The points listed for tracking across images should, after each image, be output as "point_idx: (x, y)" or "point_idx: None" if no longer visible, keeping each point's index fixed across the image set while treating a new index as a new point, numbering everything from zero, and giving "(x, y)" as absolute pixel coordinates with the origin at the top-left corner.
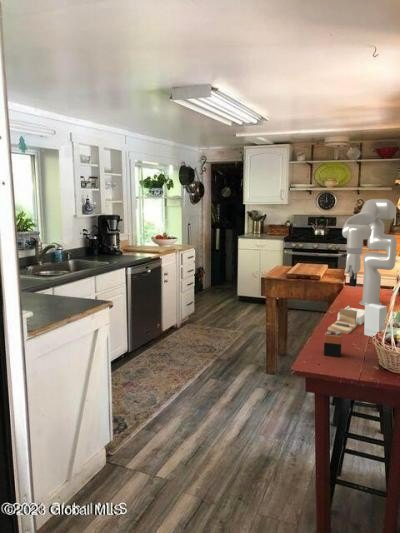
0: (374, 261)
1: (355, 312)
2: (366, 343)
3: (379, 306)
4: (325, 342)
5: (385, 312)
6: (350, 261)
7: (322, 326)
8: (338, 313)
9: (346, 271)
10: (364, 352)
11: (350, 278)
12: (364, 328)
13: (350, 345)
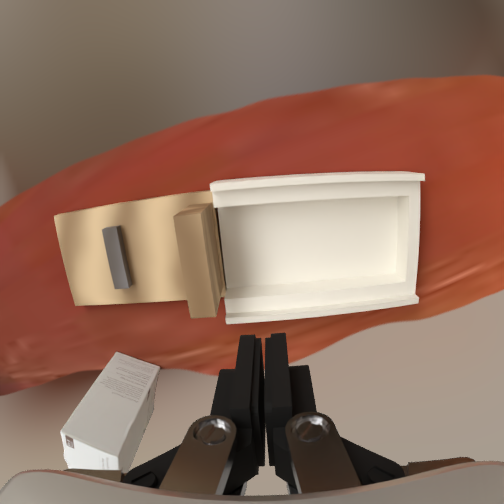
0: None
1: (191, 314)
2: (54, 372)
3: None
4: None
5: None
6: None
7: (85, 167)
8: (210, 188)
9: (6, 497)
10: (8, 376)
11: (202, 429)
12: (106, 365)
13: (10, 338)
